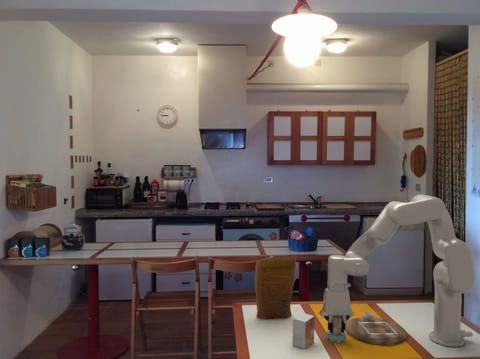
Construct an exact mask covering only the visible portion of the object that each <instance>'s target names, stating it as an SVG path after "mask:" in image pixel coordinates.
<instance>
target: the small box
mask: <svg viewBox="0 0 480 359" xmlns="http://www.w3.org/2000/svg"><path fill="white" fill-rule="evenodd" d="M315 320H316V317H315V316H314V315H312V314H308V313H305V312H301V313H300V314H299V315H297V316H296V317H293V318H292V346H295V347H298V348H299V349H306V348H308V347H310V345H312V344H314V343H315V324H316V323H315Z"/></svg>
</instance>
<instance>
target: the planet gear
mask: <svg viewBox="0 0 480 359" xmlns="http://www.w3.org/2000/svg"><path fill="white" fill-rule="evenodd" d="M332 323H333V333H330V331H329V330H327V333H326V338H325V339H326V340H329V341H330V342H331V343H333V342H334V343H337V344H340V343H345V342H346V341H347V332H344V333H342V316H333V317H332Z"/></svg>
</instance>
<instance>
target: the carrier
mask: <svg viewBox="0 0 480 359" xmlns="http://www.w3.org/2000/svg"><path fill="white" fill-rule="evenodd" d="M344 331H345V333H346V334H347V335H349V336H350V337H351V338H353V339H355V340H356V341H357V340H358V341H360V342H363V343H366V344H371V345H378V346H394V345H398V344H401V343H404V341H406V339H407V331H406V330H405V329H404V328H403V326H401V325H400V324H397V323H396V322H393V321H390V320H387V319H383V318H377V317H376V314H375V313H372V312H365V311H364V312H363V313H362V317H354V318H351V319H348V320H347V322H346V323H345V330H344Z"/></svg>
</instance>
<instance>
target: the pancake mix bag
mask: <svg viewBox="0 0 480 359" xmlns="http://www.w3.org/2000/svg"><path fill="white" fill-rule="evenodd" d="M296 264H297V257H296V256H281V257H272V258H259V259H258V261H257V260H256V261H255V276H254V283H255V285H254V286H255V287H254V288H255V300H256V301H255V302H256V311H257V312H256V318H257V319H260V320H273V319H274V320H279V319H289V318H291V317H292V316H293V315H292V311H291V302H292V297H293V296H292V294H293V287H294V281H295V270H296V267H297V266H296Z"/></svg>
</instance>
